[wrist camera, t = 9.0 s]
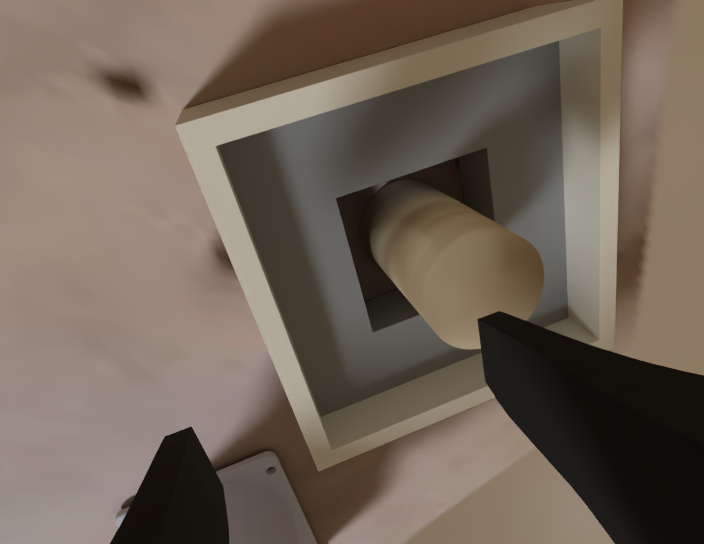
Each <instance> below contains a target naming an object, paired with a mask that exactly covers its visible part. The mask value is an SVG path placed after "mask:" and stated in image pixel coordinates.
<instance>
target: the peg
mask: <svg viewBox="0 0 704 544" xmlns="http://www.w3.org/2000/svg"><path fill="white" fill-rule="evenodd" d="M360 231H361V238H362V242H363V245H364V246H365V248H366V250H367V251H368V253H369V254H370V255H371V257H372V258H373V259H374V260H375V261H376V262H377V264H378V265H379V266H380V267H381V268H382V270H383V271H384V272H385V273H386V274H387V276H388V277H389V278H390V279H391V280H392V282H393V283H394V284H395V285H396V286H397V288H398V289H399V290H400V291H401V292H402V293H403V295H404V296H405V297H406V298H407V299H408V301H409V302H410V303H411V304H412V305H413V307H414V308H415V309H416V310H417V311H418V313H419V314H420V315H421V316H422V317H423V319H424V320H425V321H426V322H427V323H428V325H429V326H430V327H431V328H432V329H433V330H434V332H435V333H436V334H437V335H438V336H439V337H440V338H441V339H442V340H443V341H444V342H446V343H447V344H449V345H451V346H454V347H457V348H461V349H481V345H480V337H479V329H478V321H477V319H479V318H482V317H484V316H487V315H490V314H492V313H495V312H498V311H501V312H504V313H507V314H509V315H512V316H515V317H517V318H520V319H523V320H525V321H527V319H528V318H529V317H530V315H531V314H532V312H533V311H534V309H535V307H536V305H537V303H538V301H539V299H540V296H541V293H542V289H543V284H544V268H543V263H542V259H541V257H540V255H539V253H538V251H537V250H536V248H535V247H534V246H533V245H532V244H531V243H530V242H529V241H527V240H526V239H524V238H522V237H521V236H519V235H517V234H515V233H514V232H512V231H510V230H508V229H507V228H505V227H503V226H501V225H499V224H498V223H496V222H494V221H492V220H491V219H489V218H487V217H485V216H483V215H482V214H480V213H478V212H476V211H475V210H473V209H471V208H469V207H468V206H466V205H464V204H462V203H460V202H459V201H457V200H455V199H453V198H452V197H450V196H448V195H446V194H445V193H443V192H441V191H439V190H437V189H436V188H434V187H432V186H430V185H429V184H427V183H425V182H422V181H419V180H414V179H404V180H398V181H395V182H392V183H390V184H388V185H386V186H384V187H383V188H382V189H380V190H379V191H378V192H377V193H376V194H375V195H374V196H373V197H372V198H371V199H370V201H369V202H368V204H367V206H366V208H365V210H364V212H363V215H362V219H361V226H360Z"/></svg>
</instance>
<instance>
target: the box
mask: <svg viewBox="0 0 704 544" xmlns="http://www.w3.org/2000/svg"><path fill="white" fill-rule="evenodd" d="M622 27H623V0H572V1H565V2H559V3H553V4H547V5H540V6H534V7H530V8H527V9H524V10H520V11H517V12H513V13H510V14H507V15H503V16H500V17H496V18H493V19H490V20H486V21H483V22H479V23H476V24H473V25H469V26H466V27H462V28H459V29H456V30H452V31H449V32H445V33H442V34H439V35H435V36H432V37H428V38H425V39H421V40H418V41H415V42H411V43H408V44H404V45H401V46H398V47H394V48H391V49H387V50H384V51H381V52H377V53H374V54H370V55H367V56H364V57H360V58H357V59H353V60H350V61H347V62H343V63H340V64H336V65H333V66H330V67H326V68H323V69H319V70H316V71H313V72H309V73H306V74H302V75H299V76H295V77H292V78H289V79H285V80H282V81H278V82H275V83H272V84H268V85H265V86H261V87H258V88H255V89H251V90H248V91H244V92H241V93H238V94H234V95H231V96H227V97H224V98H221V99H217V100H214V101H210V102H207V103H204V104H200V105H197V106H193V107H190V108H187V109H183V110H182V111H181V114H180V116H179V118H178V120H177V122H176V124H175V127H176V130H177V132H178V135H179V137H180V139H181V142H182V144H183V147H184V149H185V151H186V154H187V156H188V159H189V161H190V163H191V166H192V168H193V171H194V173H195V176H196V178H197V180H198V183H199V185H200V188H201V190H202V192H203V195H204V197H205V200H206V202H207V204H208V207H209V209H210V212H211V214H212V217H213V219H214V221H215V224H216V226H217V229H218V231H219V233H220V236H221V238H222V241H223V243H224V245H225V248H226V250H227V253H228V255H229V258H230V260H231V262H232V265H233V267H234V270H235V272H236V274H237V277H238V279H239V282H240V284H241V286H242V289H243V291H244V294H245V296H246V299H247V301H248V303H249V306H250V308H251V311H252V313H253V315H254V318H255V320H256V323H257V325H258V327H259V330H260V332H261V335H262V337H263V340H264V342H265V344H266V347H267V349H268V352H269V354H270V356H271V359H272V361H273V364H274V366H275V368H276V371H277V373H278V376H279V378H280V381H281V383H282V385H283V388H284V390H285V393H286V395H287V397H288V400H289V402H290V405H291V407H292V409H293V412H294V414H295V417H296V419H297V422H298V424H299V426H300V429H301V431H302V434H303V436H304V438H305V441H306V443H307V446H308V448H309V450H310V453H311V455H312V458H313V460H314V463H315V465H316V467H317V470H318V472H319V471H321V470H324V469H326V468H328V467H331V466H333V465H336V464H338V463H340V462H343V461H345V460H348V459H350V458H352V457H355V456H357V455H359V454H362V453H364V452H367V451H369V450H371V449H374V448H376V447H379V446H381V445H383V444H386V443H388V442H391V441H393V440H395V439H398V438H400V437H402V436H405V435H407V434H410V433H412V432H414V431H417V430H419V429H422V428H424V427H426V426H429V425H431V424H434V423H436V422H438V421H441V420H443V419H445V418H448V417H450V416H453V415H455V414H457V413H460V412H462V411H465V410H467V409H469V408H472V407H474V406H477V405H479V404H481V403H484V402H486V401H488V400H491V399H493V398H496V397H495V396H494V394H493V393H492V391H491V390H490V388H489V387H488V385H487V384H486V382H485V376H484V369H483V361H482V353H481V349H461V348H457V347H454V346H451V345H449V344H447V343H446V342H444V341H443V340H442V339H441V338H440V337H439V336H438V335H437V334H436V333H435V332H434V330H433V329H432V328H431V327H430V326H429V325H428V323H427V322H426V321H425V320H424V319H423V317H422V316H421V315H420V314H419V313H418V311H417V310H416V309H415V308H414V307H413V305H412V304H411V303H410V302H409V301H408V299H407V298H406V297H405V296H404V295H403V293H402V292H401V291H400V290H399V289H398V290H395V291H392V292H390V293H387V294H384V295H381V296H379V297H376V298H373V299H371V300H368V301H365V302H364V299H363V295H362V291H361V288H360V284H359V281H358V277H357V273H356V270H355V266H354V262H353V259H352V255H351V251H350V248H349V244H348V241H347V237H346V233H345V230H344V226H343V222H342V219H341V215H340V212H339V208H338V204H337V201H336V198H338V197H341V196H344V195H347V194H350V193H353V192H356V191H359V190H362V189H365V188H368V187H371V186H374V185H377V184H380V183H383V182H386V181H389V180H392V179H395V178H398V177H401V176H404V175H407V174H410V173H413V172H416V171H419V170H422V169H425V168H428V167H431V166H434V165H437V164H440V163H443V162H445V161H448V160H451V159H454V158H457V157H458V159H459V166H460V173H461V180H462V187H463V194H464V202H465V205H466V206H468V207H469V208H471V209H473V210H475V211H476V212H478V213H480V214H482V215H483V216H485V217H487V218H489V219H491V220H492V221H494V222H496V223H498V224H499V225H501V226H503V227H505V228H507V229H508V230H510V231H512V232H514V233H515V234H517V235H519V236H521V237H522V238H524V239H526V240H527V241H529V242H530V243H531V244H532V245H533V246H534V247H535V248H536V250H537V251H538V253H539V255H540V257H541V259H542V263H543V268H544V284H543V289H542V293H541V296H540V299H539V301H538V303H537V305H536V307H535V309H534V311H533V312H532V314H531V315H530V317H529V318H528V319H527V321H528V322H530V323H533V324H536V325H538V326H541V327H543V328H546V329H548V330H551V331H554V332H556V333H559V334H562V335H564V336H567V337H570V338H572V339H575V340H578V341H581V342H584V343H586V344H589V345H592V346H595V347H598V348H601V349H604V350H610V349H613V348H615V316H616V274H617V233H618V192H619V151H620V109H621V68H622Z"/></svg>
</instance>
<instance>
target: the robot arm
mask: <svg viewBox="0 0 704 544" xmlns="http://www.w3.org/2000/svg"><path fill="white" fill-rule="evenodd" d="M477 321H478V329H479V337H480V345H481V353H482V361H483V369H484V376H485V382H486V384H487V385H488V387H489V388H490V390H491V391H492V393H493V394H494V396H495V397H496V399H497V400H498V402H499V403H500V404H501V406H502V407H503V409H504V410H505V412H506V413H507V414H508V416H509V417H510V418H511V419H512V420H513V421H514V423H515V424H516V425H517V426H518V427H519V428H520V429H521V430H522V432H523V433H524V434H525V435H526V436H527V437H528V438H529V440H530V441H531V442H532V443H533V444H534V445H535V446H536V447H537V449H538V450H540V452H541V453H542V454H543V455H544V456H545V457H546V458H547V459H548V461H549V462H550V463H551V464H552V465H553V466H554V468H555V469H556V470H557V471H558V472H559V473H560V474H561V475H562V476H563V478H564V479H565V480H566V481H567V482H568V483H569V484H570V485H571V486H572V488H573V489H574V490H575V491H576V493H577V494H578V495H579V496H580V497H581V499H582V500H583V501H584V502H585V504H586V505H587V506H588V508H589V509H590V510H591V512H592V513H593V514H594V516H595V517H596V518H597V520H598V521H599V523H600V524H601V525H602V527H603V528H604V529H605V531H606V532H607V533H608V535H609V536H610V537H611V539H612V540H613V541H614V543H615V544H704V376H703V375H698V374H694V373H689V372H684V371H680V370H676V369H672V368H668V367H664V366H660V365H656V364H651V363H647V362H644V361H640V360H637V359H633V358H630V357H627V356H624V355H620V354H617V353H614V352H611V351H608V350H604V349H601V348H598V347H595V346H592V345H589V344H586V343H584V342H581V341H578V340H575V339H572V338H570V337H567V336H564V335H562V334H559V333H556V332H554V331H551V330H548V329H546V328H543V327H541V326H538V325H536V324H533V323H530V322H528V321H525V320H523V319H520V318H517V317H515V316H512V315H509V314H507V313H504V312H501V311H498V312H495V313H492V314H490V315H487V316H484V317H482V318H479V319H477ZM269 467H273V468H271V469H267V468H269ZM115 524H116V526H117V528H118V530H117V532H116V534H115V536H114V538H113V539H112V541H111V543H110V544H318V543H317V541H316V539H315V536H314V534H313V532H312V530H311V528H310V526H309V524H308V521H307V519H306V517H305V515H304V513H303V511H302V509H301V506H300V504H299V502H298V500H297V498H296V496H295V494H294V491H293V489H292V487H291V485H290V483H289V481H288V478H287V476H286V474H285V472H284V470H283V468H282V466H281V463H280V461H279V459H278V457H277V455H276V454H275V453H274V452H272V451H266V452H263V453H260V454H258V455H255V456H253V457H251V458H248V459H246V460H243V461H241V462H238V463H236V464H233V465H231V466H228V467H226V468H223V469H221V470H219V471H215V470H214V468H213V466H212V464H211V462H210V460H209V458H208V457H207V455H206V453H205V451H204V449H203V447H202V445H201V443H200V442H199V440H198V438H197V436H196V434H195V432H194V430H193V428H192V427H189V428H186V429H184V430H181V431H178V432H176V433H173V434H170V435H168V436H165V437H164V439H163V441H162V443H161V445H160V447H159V449H158V451H157V453H156V455H155V457H154V459H153V461H152V463H151V465H150V467H149V469H148V471H147V473H146V475H145V477H144V480H143V482H142V484H141V486H140V488H139V490H138V492H137V494H136V496H135V498H134V500H133V501H132V503H131V505H130V507H127V508H125V509H122V510H121V511H119V512H118V513H117V515H116V520H115Z"/></svg>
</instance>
